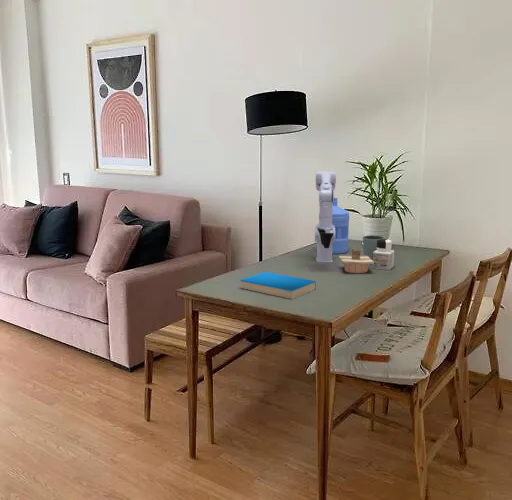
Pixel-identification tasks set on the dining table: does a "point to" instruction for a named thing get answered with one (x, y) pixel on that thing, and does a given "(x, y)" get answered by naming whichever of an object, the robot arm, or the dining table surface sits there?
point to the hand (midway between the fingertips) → (325, 246)
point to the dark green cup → (370, 245)
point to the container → (383, 255)
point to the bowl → (356, 268)
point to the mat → (324, 267)
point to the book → (278, 285)
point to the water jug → (340, 228)
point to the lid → (356, 258)
